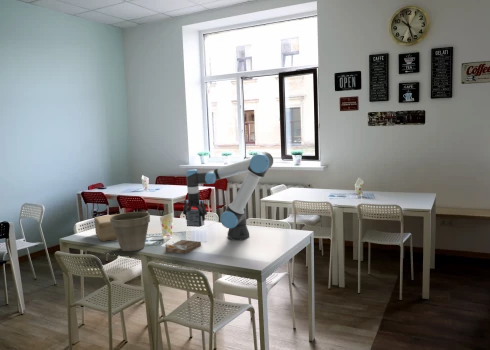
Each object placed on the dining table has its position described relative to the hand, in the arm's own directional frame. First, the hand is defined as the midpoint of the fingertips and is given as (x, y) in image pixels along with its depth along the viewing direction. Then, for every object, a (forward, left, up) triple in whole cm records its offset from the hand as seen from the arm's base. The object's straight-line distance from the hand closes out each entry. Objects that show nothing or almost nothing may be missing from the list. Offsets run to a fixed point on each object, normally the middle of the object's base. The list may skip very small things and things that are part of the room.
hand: (195, 224), depth 280 cm
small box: (0, 0, -1) cm, 1 cm away
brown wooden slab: (-2, +18, -11) cm, 21 cm away
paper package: (+65, +6, -11) cm, 66 cm away
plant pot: (+31, +28, -11) cm, 44 cm away
